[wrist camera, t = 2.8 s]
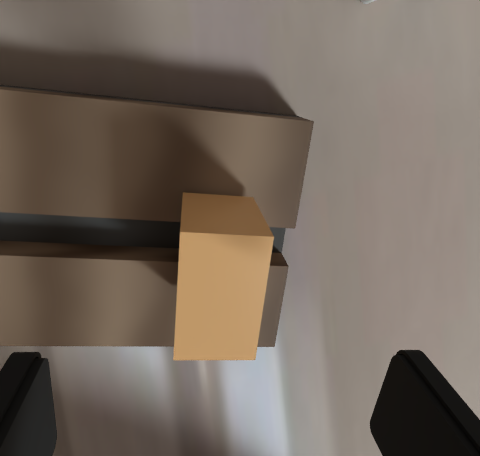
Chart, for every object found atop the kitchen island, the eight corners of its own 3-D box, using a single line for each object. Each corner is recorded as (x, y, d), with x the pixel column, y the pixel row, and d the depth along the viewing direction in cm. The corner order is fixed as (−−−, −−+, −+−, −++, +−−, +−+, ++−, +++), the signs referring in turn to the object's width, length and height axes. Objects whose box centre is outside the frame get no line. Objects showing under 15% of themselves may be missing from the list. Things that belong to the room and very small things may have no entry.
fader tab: (247, 186, 21) (274, 236, 14) (236, 278, 23) (255, 360, 16) (183, 181, 20) (180, 232, 14) (178, 276, 22) (173, 360, 16)
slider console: (297, 116, 21) (314, 122, 18) (265, 318, 26) (275, 348, 23) (-212, 62, 17) (-294, 59, 14) (-134, 312, 22) (-183, 347, 19)
